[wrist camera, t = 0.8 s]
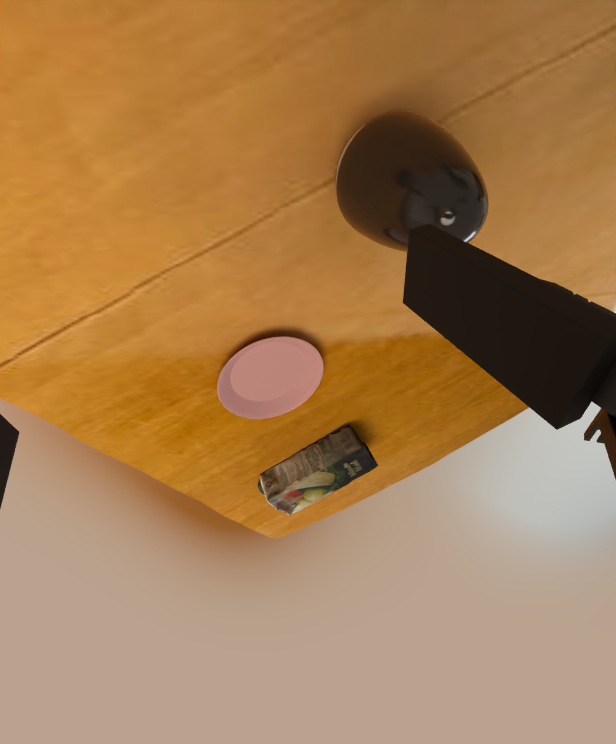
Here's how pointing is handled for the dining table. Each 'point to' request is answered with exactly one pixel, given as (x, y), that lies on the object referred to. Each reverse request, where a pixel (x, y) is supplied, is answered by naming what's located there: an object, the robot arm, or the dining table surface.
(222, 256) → the dining table surface
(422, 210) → the pump dispenser
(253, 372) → the plate
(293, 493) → the juice carton
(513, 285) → the robot arm
